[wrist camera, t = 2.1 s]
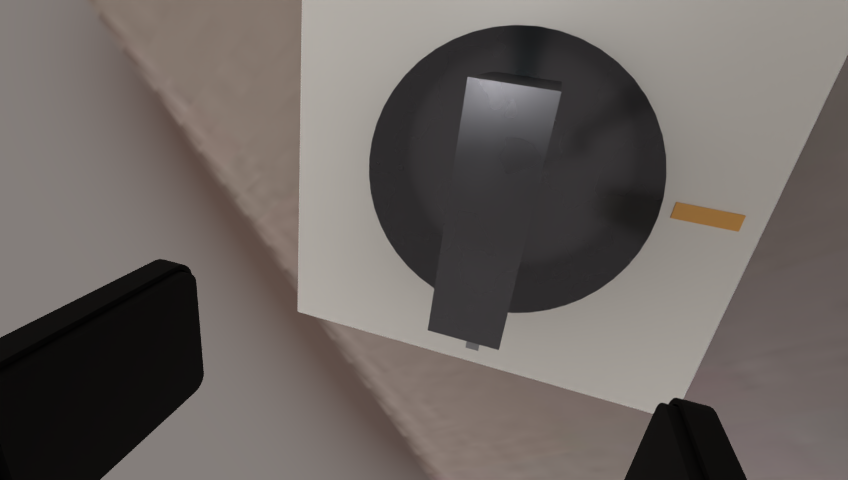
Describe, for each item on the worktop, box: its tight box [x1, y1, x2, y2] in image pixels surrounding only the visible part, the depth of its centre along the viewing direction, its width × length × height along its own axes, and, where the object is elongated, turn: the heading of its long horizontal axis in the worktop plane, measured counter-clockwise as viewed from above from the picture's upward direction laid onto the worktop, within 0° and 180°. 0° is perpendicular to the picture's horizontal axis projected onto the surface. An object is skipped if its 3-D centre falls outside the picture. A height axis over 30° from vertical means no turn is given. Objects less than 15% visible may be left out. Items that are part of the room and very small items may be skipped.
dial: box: [369, 25, 666, 350], centre depth 20 cm, size 14×14×8 cm
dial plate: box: [298, 0, 848, 414], centre depth 24 cm, size 24×24×2 cm
